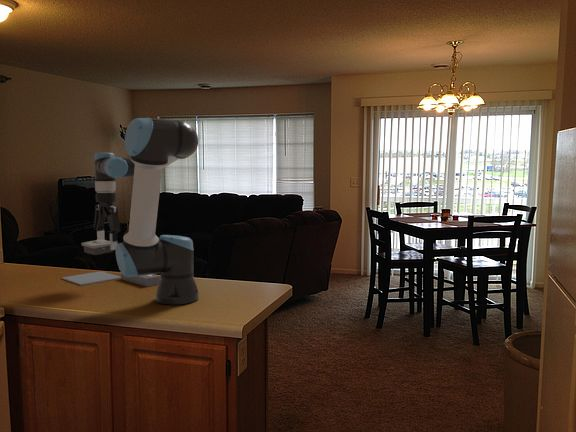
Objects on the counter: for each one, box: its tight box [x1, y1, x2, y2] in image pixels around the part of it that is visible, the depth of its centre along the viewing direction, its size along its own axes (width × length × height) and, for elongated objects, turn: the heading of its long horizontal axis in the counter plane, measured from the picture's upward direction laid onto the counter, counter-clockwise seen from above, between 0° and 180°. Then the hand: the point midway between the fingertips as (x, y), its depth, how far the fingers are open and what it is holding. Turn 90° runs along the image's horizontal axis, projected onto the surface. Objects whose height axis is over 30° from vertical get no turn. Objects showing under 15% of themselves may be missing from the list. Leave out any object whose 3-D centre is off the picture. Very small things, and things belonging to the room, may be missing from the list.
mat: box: [61, 270, 122, 287], centre depth 216 cm, size 18×18×1 cm
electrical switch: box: [80, 239, 114, 256], centre depth 197 cm, size 9×5×9 cm
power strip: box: [120, 272, 161, 288], centre depth 210 cm, size 20×6×4 cm, turn 47°
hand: (107, 248), depth 201 cm, fingers closed on electrical switch, 10 cm apart
